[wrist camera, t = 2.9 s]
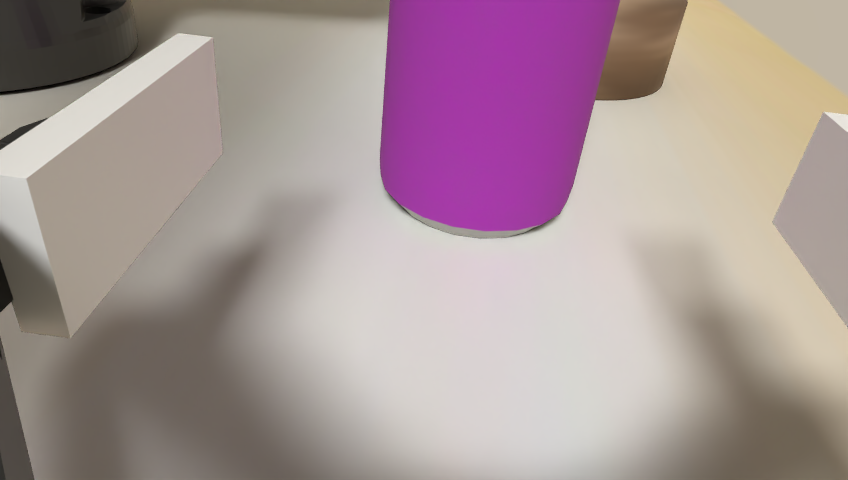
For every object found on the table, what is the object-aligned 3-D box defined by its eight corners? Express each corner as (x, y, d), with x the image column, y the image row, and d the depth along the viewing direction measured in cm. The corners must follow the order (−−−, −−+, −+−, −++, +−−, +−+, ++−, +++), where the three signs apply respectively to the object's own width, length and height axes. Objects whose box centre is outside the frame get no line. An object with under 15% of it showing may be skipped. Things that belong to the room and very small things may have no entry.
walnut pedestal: (426, 46, 43) (434, -34, 40) (551, 26, 50) (565, -42, 48) (579, 115, 35) (601, 22, 32) (700, 79, 42) (727, 1, 40)
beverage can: (512, 276, 22) (598, -126, 15) (338, 199, 25) (347, -161, 18) (593, 195, 27) (682, -126, 21) (442, 139, 31) (478, -153, 24)
